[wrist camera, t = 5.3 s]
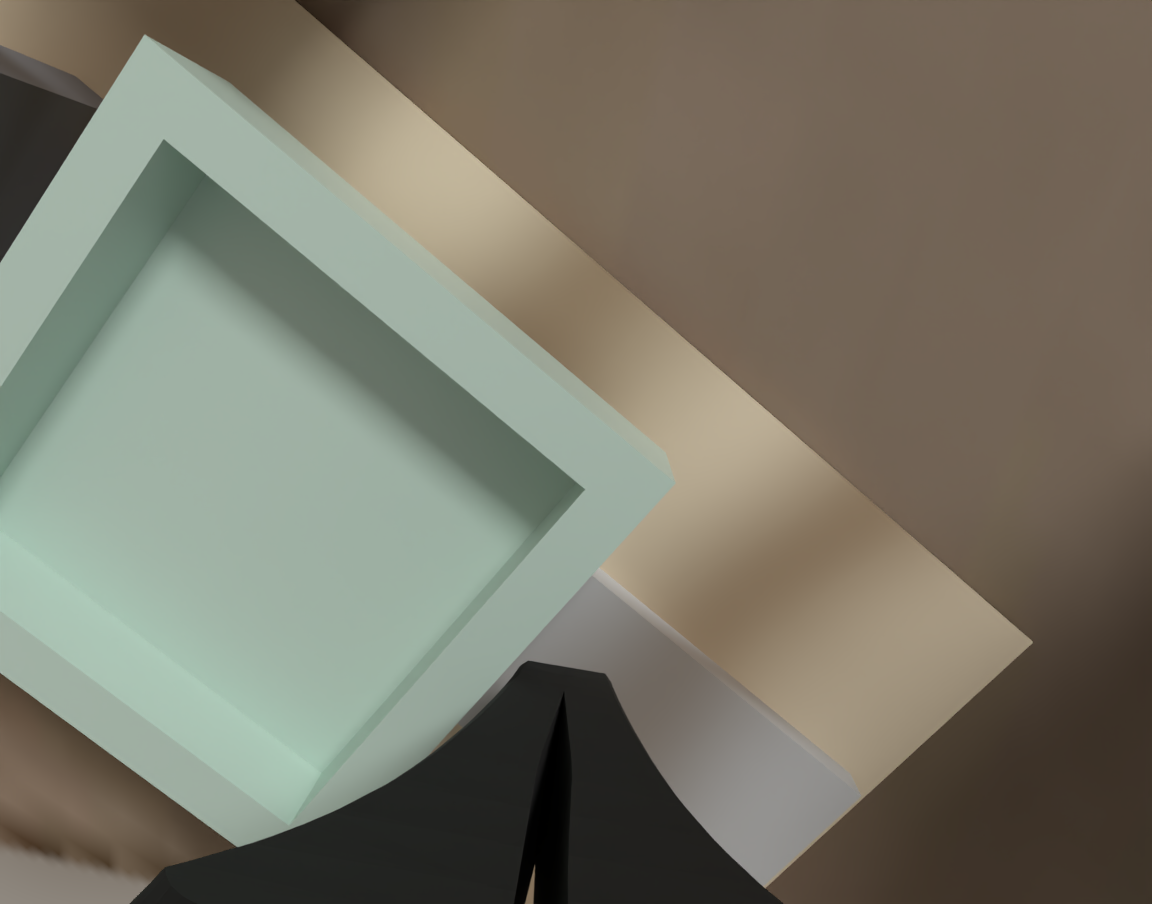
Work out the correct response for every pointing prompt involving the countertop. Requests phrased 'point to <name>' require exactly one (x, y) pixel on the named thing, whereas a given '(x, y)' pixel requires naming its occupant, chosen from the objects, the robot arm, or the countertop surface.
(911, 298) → the countertop surface
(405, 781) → the robot arm
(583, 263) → the beige rectangular board
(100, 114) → the holder
